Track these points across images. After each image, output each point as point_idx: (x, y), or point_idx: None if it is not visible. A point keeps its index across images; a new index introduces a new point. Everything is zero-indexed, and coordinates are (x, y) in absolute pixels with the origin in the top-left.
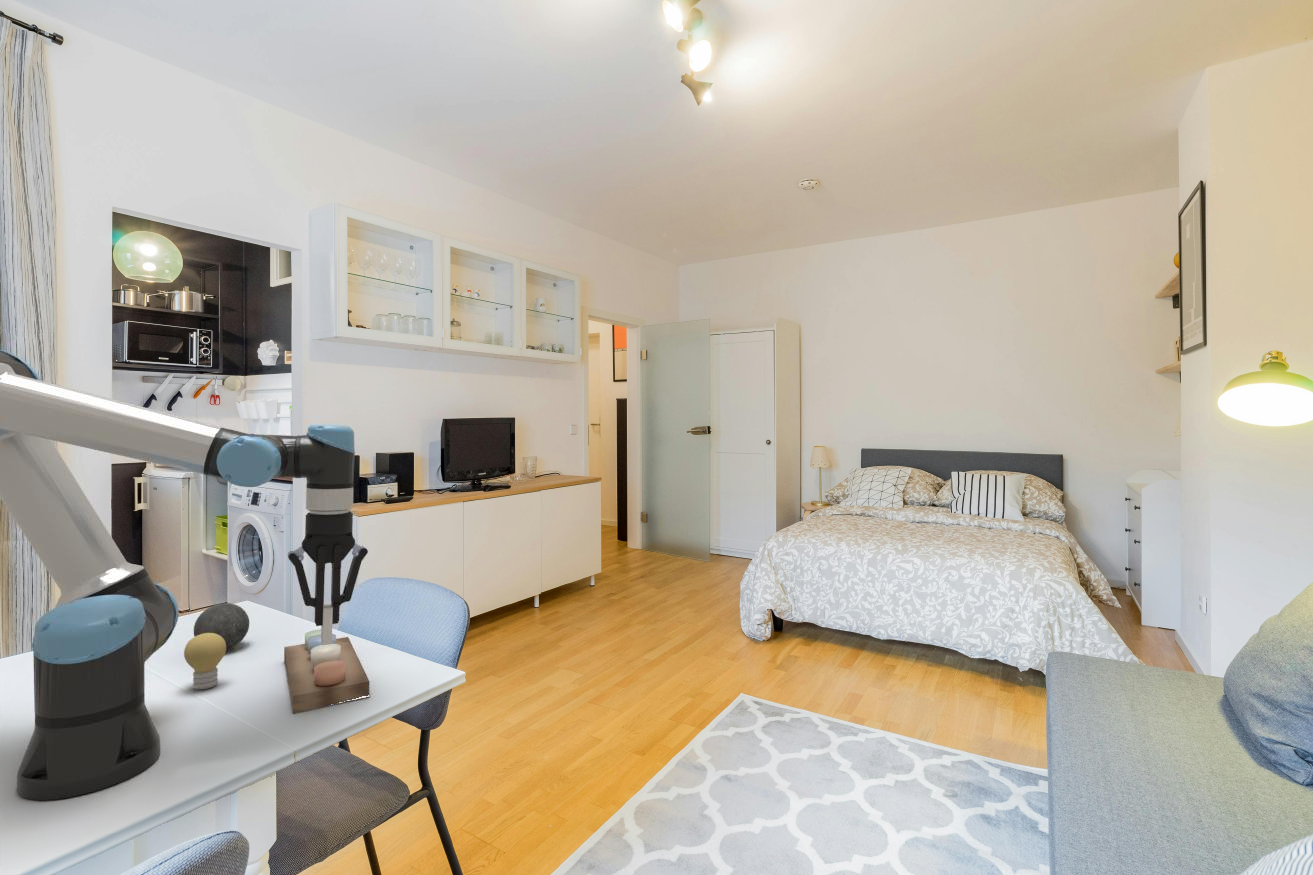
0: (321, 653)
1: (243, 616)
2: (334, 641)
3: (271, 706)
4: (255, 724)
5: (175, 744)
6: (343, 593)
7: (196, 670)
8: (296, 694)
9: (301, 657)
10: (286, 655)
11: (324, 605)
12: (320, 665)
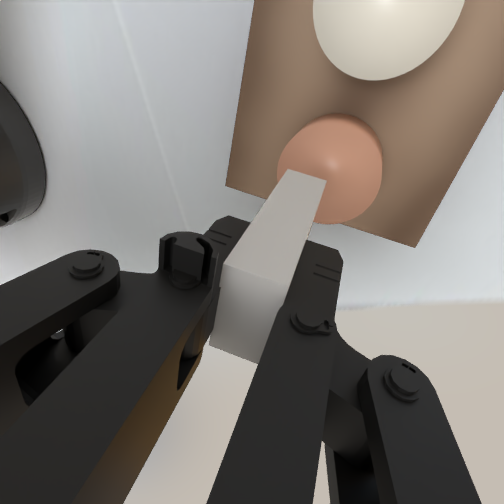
0: (337, 67)
1: None
2: None
3: (212, 82)
4: (172, 165)
5: (58, 141)
6: (366, 413)
7: None
8: (234, 182)
9: None
10: None
11: (235, 287)
12: (304, 148)
